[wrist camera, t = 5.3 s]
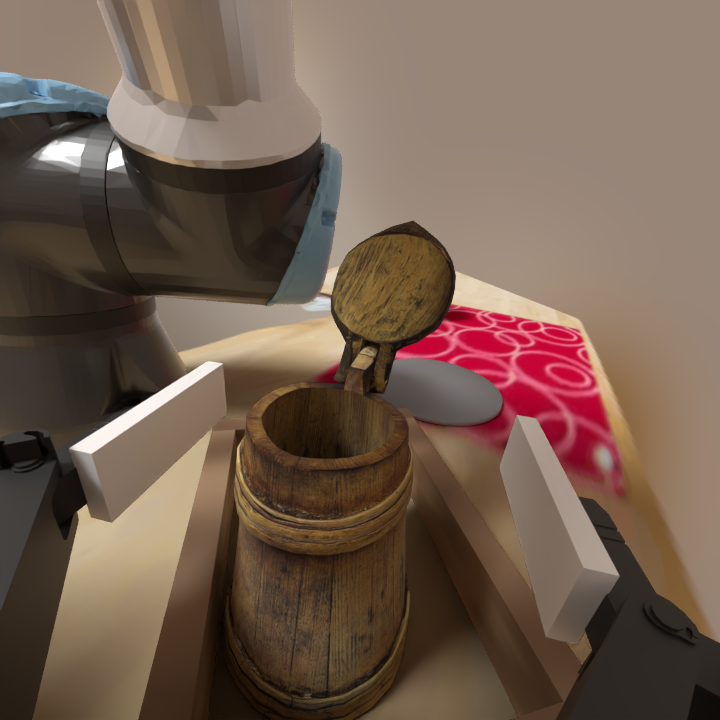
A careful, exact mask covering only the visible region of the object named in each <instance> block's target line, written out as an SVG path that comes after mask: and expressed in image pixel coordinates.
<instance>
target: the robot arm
mask: <svg viewBox="0 0 720 720" xmlns="http://www.w3.org/2000/svg"><path fill="white" fill-rule="evenodd" d="M96 1H97V3H98V6H99V9H100V12H101V14H102V17H103V20H104V22H105V25H106V27H107V30H108V33H109V36H110V38H111V41H112V44H113V46H114V49H115V52H116V54H117V57H118V60H119V62H120V65H121V68H122V71H123V76H122V78H121V80H120V82H119V84H118V86H117V88H116V90H115V92H114V94H113V96H112V97H111V99H109V98H108V97H106V96H104V95H101V94H99V93H97V92H94V91H92V90H89V89H85V88H82V87H79V86H75V85H72V84H68V83H64V82H60V81H55V80H48V79H30V78H25V77H22V76H20V75H18V74H13V73H4V72H0V720H32V718H33V714H34V709H35V705H36V701H37V697H38V692H39V688H40V684H41V679H42V675H43V671H44V667H45V662H46V658H47V654H48V650H49V645H50V641H51V637H52V632H53V628H54V624H55V620H56V615H57V611H58V607H59V602H60V598H61V594H62V590H63V585H64V581H65V577H66V573H67V568H68V564H69V560H70V555H71V551H72V547H73V543H74V538H75V534H76V530H77V525H78V521H79V519H78V514H77V511H78V510H79V509H81V508H82V507H83V506H84V505H86V504H87V506H88V509H89V512H90V515H91V517H92V518H96V519H100V520H103V521H107V522H111V523H112V522H113V521H114V520H115V519H116V518H117V517H118V516H119V515H120V514H121V513H123V512H124V511H125V510H126V509H127V508H128V507H129V506H130V505H131V504H132V503H133V502H134V501H135V500H136V499H137V498H138V497H139V496H141V495H142V494H143V493H144V492H145V491H146V490H147V489H148V488H149V487H150V486H151V485H152V484H153V483H154V482H155V481H156V480H157V479H159V478H160V477H161V476H162V475H163V474H164V473H165V472H166V471H167V470H168V469H169V468H170V467H171V466H172V465H173V464H174V463H175V462H177V461H178V460H179V459H180V458H181V457H182V456H183V455H184V454H185V453H186V452H187V451H188V450H189V449H190V448H191V447H192V446H193V445H195V444H196V443H197V442H198V441H199V440H200V439H201V438H202V437H203V436H204V435H205V434H206V433H207V432H208V431H209V430H210V429H211V428H213V427H214V426H215V425H216V424H217V423H218V422H219V421H220V420H221V419H222V418H223V417H224V416H225V415H226V414H227V405H226V393H225V381H224V369H223V364H222V363H217V362H211V361H207V362H206V363H204V364H203V365H201V366H199V367H198V368H196V369H195V370H193V371H191V372H190V373H188V374H187V370H186V368H185V365H184V363H183V361H182V360H181V358H180V356H179V354H178V352H177V351H176V349H175V348H174V345H173V344H172V342H171V340H170V338H169V336H168V335H167V333H166V331H165V329H164V327H163V326H162V324H161V322H160V320H159V318H158V315H157V309H156V303H155V297H154V296H156V297H170V298H182V299H194V300H207V301H219V302H232V303H245V304H257V305H265V306H273V305H275V304H306V303H309V302H311V301H313V300H314V299H315V298H316V297H317V296H318V295H319V293H320V291H321V289H322V287H323V284H324V281H325V277H326V273H327V269H328V264H329V259H330V254H331V249H332V244H333V236H334V231H335V225H334V221H335V220H336V214H337V208H338V203H339V197H340V187H341V176H342V158H341V154H340V152H339V151H338V150H337V149H336V148H333V147H331V146H330V145H329V144H326V143H322V144H321V117H320V113H319V111H318V109H317V107H316V106H315V105H314V103H313V102H312V101H311V100H310V98H309V97H308V96H307V95H306V93H305V92H304V91H303V89H302V88H301V87H300V86H299V85H298V83H297V82H296V79H295V69H294V43H293V12H292V0H96ZM499 468H500V472H501V476H502V479H503V483H504V487H505V490H506V494H507V497H508V501H509V505H510V508H511V512H512V516H513V519H514V523H515V527H516V530H517V534H518V537H519V541H520V545H521V548H522V552H523V556H524V559H525V563H526V567H527V570H528V574H529V578H530V581H531V585H532V588H533V592H534V596H535V599H536V603H537V607H538V610H539V614H540V618H541V621H542V625H543V629H544V632H545V636H546V637H548V638H552V639H555V640H559V641H563V642H567V643H571V644H574V645H577V644H578V643H579V641H580V640H581V638H582V636H583V635H584V633H585V631H586V634H587V637H588V639H589V642H590V645H591V647H592V651H591V653H590V654H589V656H588V657H587V659H586V660H585V662H584V663H583V665H582V667H581V668H580V670H579V671H578V674H579V675H578V677H577V679H576V681H575V683H574V685H573V687H572V689H571V691H570V693H569V695H568V697H567V699H566V701H565V702H564V704H563V706H562V708H561V710H560V712H559V714H558V716H557V718H556V720H720V643H718V642H716V641H714V640H712V639H710V638H708V637H706V636H704V635H703V634H701V633H699V631H698V629H697V628H696V626H695V624H694V623H693V622H692V621H691V620H690V619H689V618H688V616H687V615H686V614H685V613H684V612H683V611H682V610H680V609H679V608H678V607H677V606H675V605H674V604H673V603H672V602H670V601H669V600H667V599H665V598H663V597H662V596H660V595H658V594H656V592H655V591H654V589H653V587H652V586H651V584H650V582H649V581H648V579H647V577H646V576H645V574H644V572H643V571H642V569H641V567H640V566H639V564H638V562H637V561H636V559H635V557H634V556H633V554H632V552H631V551H630V549H629V547H628V546H627V545H625V541H624V539H623V537H622V536H621V534H620V532H617V528H616V526H615V524H614V523H613V521H612V519H611V518H610V516H609V514H608V513H607V512H606V511H605V510H604V509H603V508H602V507H601V506H600V505H599V504H598V503H597V502H596V501H594V500H593V499H588V498H583V497H578V496H577V494H576V493H575V491H574V489H573V487H572V485H571V483H570V481H569V479H568V477H567V476H566V474H565V472H564V470H563V468H562V466H561V464H560V462H559V460H558V459H557V457H556V455H555V453H554V451H553V449H552V447H551V445H550V443H549V442H548V440H547V438H546V436H545V434H544V432H543V430H542V428H541V426H540V425H539V423H538V421H537V419H536V418H531V417H526V416H520V415H516V418H515V421H514V424H513V427H512V430H511V433H510V436H509V439H508V442H507V445H506V448H505V452H504V455H503V458H502V461H501V464H500V467H499Z"/></svg>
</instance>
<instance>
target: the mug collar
mask: <svg viewBox="0 0 720 720" xmlns="http://www.w3.org/2000/svg"><path fill="white" fill-rule="evenodd" d="M396 409H397V410H398V411H400V412H401V413H402V414H403V415H404V416H405V417H406V420H407V423H408V426H409V444H410V447H411V450H412V454H413V474H414V475H413V485H412V492H411V497H412V499H413V501H414V503H415V505H416V507H417V509H418V511H419V513H420V516H421V518H422V520H423V522H424V524H425V526H426V528H427V530H428V532H429V534H430V536H431V538H432V540H433V542H434V544H435V546H436V548H437V551H438V553H439V555H440V557H441V559H442V561H443V563H444V565H445V567H446V569H447V571H448V573H449V575H450V577H451V579H452V581H453V583H454V585H455V588H456V590H457V592H458V594H459V596H460V598H461V600H462V602H463V604H464V606H465V608H466V610H467V612H468V614H469V616H470V618H471V620H472V623H473V625H474V627H475V629H476V631H477V633H478V635H479V637H480V639H481V641H482V643H483V645H484V647H485V649H486V651H487V653H488V655H489V658H490V660H491V662H492V664H493V666H494V668H495V670H496V672H497V674H498V676H499V678H500V680H501V682H502V684H503V686H504V688H505V690H506V693H507V695H508V697H509V699H510V701H511V703H512V705H513V707H514V709H515V711H516V713H517V715H518V717H517V718H514V719H511V720H556V718H557V716H558V714H559V712H560V710H561V708H562V706H563V704H564V702H565V701H566V699H567V697H568V695H569V693H570V691H571V689H572V687H573V685H574V683H575V681H576V679H577V677H578V675H579V674H578V671H579V670H580V668H581V667H582V665H581V664H580V662H579V661H578V659H577V658H576V656H575V655H574V653H573V652H572V650H571V649H570V647H569V646H568V644H567V643H566V642H563V641H559V640H555V639H552V638H548V637H546V636H545V632H544V629H543V625H542V621H541V618H540V614H539V610H538V607H537V603H536V599H535V596H534V594H533V593H532V591H531V590H530V588H529V587H528V585H527V584H526V582H525V581H524V579H523V578H522V577H521V575H520V574H519V572H518V571H517V569H516V568H515V566H514V565H513V563H512V562H511V560H510V559H509V557H508V556H507V554H506V553H505V551H504V550H503V548H502V547H501V546H500V544H499V543H498V541H497V540H496V538H495V537H494V535H493V534H492V532H491V531H490V529H489V528H488V526H487V525H486V523H485V522H484V520H483V519H482V518H481V516H480V515H479V513H478V512H477V510H476V509H475V507H474V506H473V504H472V503H471V501H470V500H469V498H468V497H467V495H466V494H465V492H464V491H463V490H462V488H461V487H460V485H459V484H458V482H457V481H456V479H455V478H454V476H453V475H452V473H451V472H450V470H449V469H448V467H447V466H446V464H445V463H444V462H443V460H442V459H441V457H440V456H439V454H438V453H437V451H436V450H435V448H434V447H433V445H432V444H431V442H430V441H429V439H428V438H427V436H426V435H425V433H424V432H423V431H422V429H421V428H420V426H419V425H418V423H417V422H416V420H415V419H414V417H413V416H412V414H411V413H410V411H409V410H408V408H396ZM245 427H246V417H241V418H223V419H221V420H220V421H219V422H218V423H217V424H216V425H215V426H214V427H213V430H212V433H211V437H210V441H209V445H208V449H207V453H206V457H205V461H204V465H203V469H202V473H201V476H200V480H199V484H198V488H197V492H196V496H195V500H194V504H193V508H192V512H191V516H190V519H189V523H188V527H187V531H186V535H185V539H184V543H183V547H182V551H181V555H180V559H179V562H178V566H177V570H176V574H175V578H174V582H173V586H172V590H171V594H170V598H169V602H168V606H167V609H166V613H165V617H164V621H163V625H162V629H161V633H160V637H159V641H158V645H157V649H156V652H155V656H154V660H153V664H152V668H151V672H150V676H149V680H148V684H147V688H146V692H145V695H144V699H143V703H142V707H141V711H140V715H139V719H138V720H208V715H209V707H210V698H211V690H212V682H213V673H214V665H215V657H216V648H217V640H218V632H219V624H220V615H221V607H222V599H223V590H224V582H225V574H226V565H227V557H228V549H229V540H230V532H231V524H232V516H233V507H234V499H235V497H234V484H235V472H236V460H237V448H238V446H239V444H240V443H241V441H242V440H243V438H244V436H245Z"/></svg>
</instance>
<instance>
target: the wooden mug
mask: <svg viewBox="0 0 720 720" xmlns="http://www.w3.org/2000/svg"><path fill="white" fill-rule="evenodd" d="M455 279H456V275H455V271H454V266H453V262H452V260H451V258H450V256H449V254H448V252H447V251H446V249H445V247H444V246H443V245H442V244H441V243H440V242H439V241H438V240H437V239H436V238H435V237H434V236H432V235H431V234H430V233H429V232H428V231H427V230H425V229H424V228H422V227H421V226H420V225H418V224H417V223H416V222H414V221H410V222H407V223H403V224H400V225H396V226H393V227H390V228H388V229H386V230H384V231H381V232H380V233H377V234H375V235H373V236H371V237H370V238H368V239H366V240H364V241H363V242H361V243H359V244H358V245H357V246H356V247H355V248H353V249H352V250H351V251H350V252H349V253H348V254H347V256H346V257H345V259H344V261H343V263H342V264H341V266H340V267H339V270H338V273H337V277H336V280H335V283H334V288H333V292H332V295H331V313H332V316H333V318H334V321H335V323H336V325H337V327H338V328H339V330H340V332H341V334H342V336H343V338H344V340H345V342H346V345H345V348H344V352H343V355H342V358H341V362H340V364H339V367H338V369H337V372H336V374H335V376H334V378H333V380H335V381H337V382H339V383H342V384H334V383H318V382H304V383H294V384H290V385H287V386H284V387H280V388H278V389H276V390H274V391H272V392H270V393H268V394H267V395H266V396H264V397H263V398H262V399H260V400H259V401H257V402H256V403H255V405H254V406H253V407H252V409H251V410H250V412H249V413H248V414H247V417H246V427H245V436H244V438H243V440H242V441H241V443H240V444H239V446H238V448H237V460H236V472H235V484H234V497H235V503H236V508H237V514H238V516H239V526H238V539H237V549H236V558H235V567H234V571H233V573H232V576H231V578H230V581H229V584H228V592H227V600H226V608H225V614H224V619H223V624H222V631H223V647H224V660H225V662H226V664H227V666H228V668H229V670H230V672H231V674H232V677H233V679H234V681H235V683H236V685H237V687H238V688H239V689H240V691H241V692H242V693H243V694H244V696H245V697H246V698H247V699H248V700H249V702H250V703H251V704H252V705H253V707H254V708H255V709H256V710H258V711H259V712H261V713H263V714H264V715H266V716H267V717H269V718H271V719H272V720H352V719H354V718H356V717H357V716H359V715H361V714H362V713H364V712H366V711H367V710H369V709H371V708H372V707H373V706H374V704H375V703H376V702H377V701H378V700H379V699H380V698H381V697H382V696H383V694H384V693H385V692H386V691H387V690H388V689H389V688H390V687H391V685H392V683H393V681H394V678H395V676H396V673H397V671H398V668H399V666H400V663H401V661H402V658H403V652H404V646H405V641H406V635H407V629H408V618H409V604H410V591H409V585H408V580H407V575H406V569H405V549H406V507H407V505H408V503H409V500H410V498H411V492H412V485H413V475H414V474H413V454H412V450H411V447H410V444H409V426H408V423H407V420H406V417H405V416H404V415H403V414H402V413H401V412H400V411H398V410H397V409H396V408H395V407H394V406H393V405H392V404H391V403H389V402H387V401H386V400H384V399H382V398H381V397H379V396H377V395H378V393H379V394H384V392H385V390H386V387H387V385H388V381H389V377H390V373H391V369H392V366H393V362H394V359H395V355H396V352H397V351H398V350H400V349H402V348H403V347H406V346H409V345H411V344H414V343H417V342H419V341H420V340H422V339H423V338H425V337H426V336H428V335H429V334H431V333H432V332H434V331H435V330H437V329H438V328H439V326H440V324H441V323H442V321H443V319H444V317H445V316H446V314H447V312H448V309H449V307H450V305H451V302H452V299H453V295H454V290H455Z"/></svg>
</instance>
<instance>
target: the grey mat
mask: <svg viewBox="0 0 720 720" xmlns="http://www.w3.org/2000/svg"><path fill="white" fill-rule="evenodd" d="M377 396H379V397H381V398H382V399H384V400H386V401H387V402H389V403H391V404H392V405H393V406H394V407H395V408H408V410H409V411H410V413H411V414H412V416H413V417H414V419H417V420H420V421H424V422H428V423H433V424H438V425H446V426H472V425H478V424H482V423H485V422H488V421H490V420H492V419H493V418H495V417H496V416H497V415H498V414H499V412H500V410H501V407H502V403H503V400H502V396H501V393H500V392H499V390H498V389H497V388H496V387H495V386H494V385H493V384H492V383H491V382H490V381H488V380H487V379H485V378H484V377H482V376H481V375H479V374H477V373H475V372H473V371H470V370H468V369H466V368H463V367H460V366H457V365H454V364H450V363H446V362H442V361H436V360H429V359H414V358H411V359H398V360H394V362H393V366H392V369H391V373H390V377H389V381H388V385H387V387H386V390H385V392H384V394H379V393H378V395H377Z"/></svg>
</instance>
